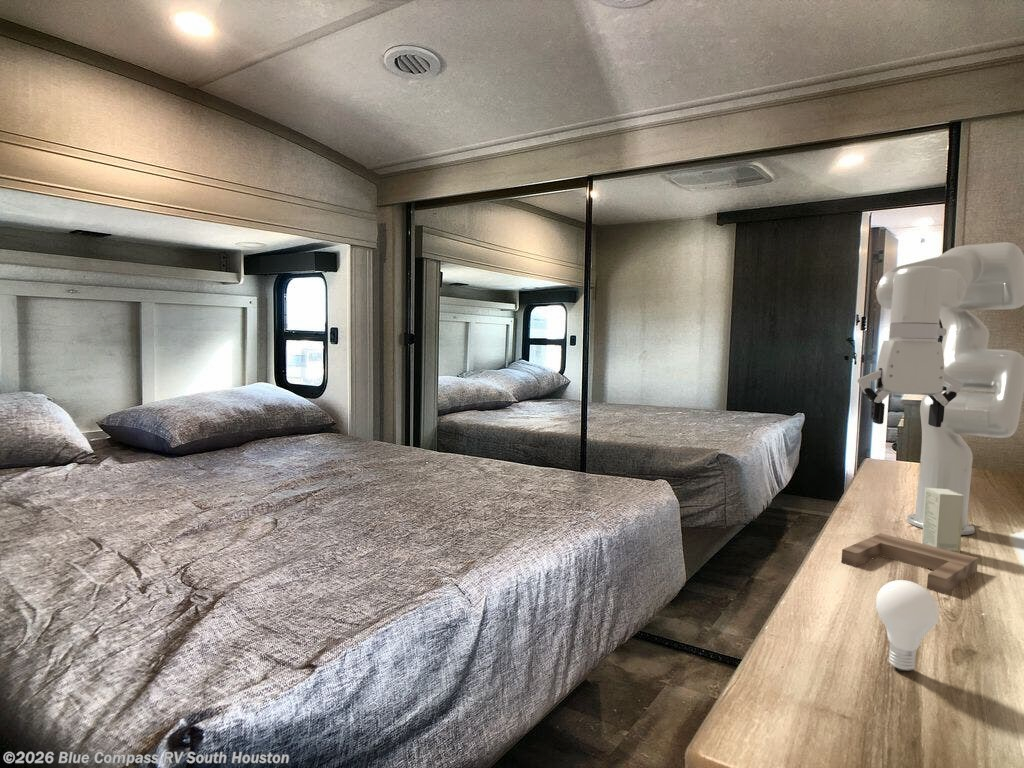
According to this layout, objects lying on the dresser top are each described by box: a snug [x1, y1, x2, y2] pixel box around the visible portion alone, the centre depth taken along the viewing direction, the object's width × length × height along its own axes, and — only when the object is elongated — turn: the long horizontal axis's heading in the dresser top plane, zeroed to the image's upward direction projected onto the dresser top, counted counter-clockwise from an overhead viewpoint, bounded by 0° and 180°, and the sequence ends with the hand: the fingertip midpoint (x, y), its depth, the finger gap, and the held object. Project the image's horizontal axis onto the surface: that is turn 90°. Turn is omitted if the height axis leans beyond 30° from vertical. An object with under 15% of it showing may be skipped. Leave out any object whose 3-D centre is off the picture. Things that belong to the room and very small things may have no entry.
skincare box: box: [921, 488, 964, 553], centre depth 116 cm, size 6×4×12 cm
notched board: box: [840, 532, 979, 594], centre depth 106 cm, size 18×16×2 cm
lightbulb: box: [875, 579, 940, 672], centre depth 70 cm, size 6×6×11 cm
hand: (905, 424), depth 109 cm, fingers open, 9 cm apart
